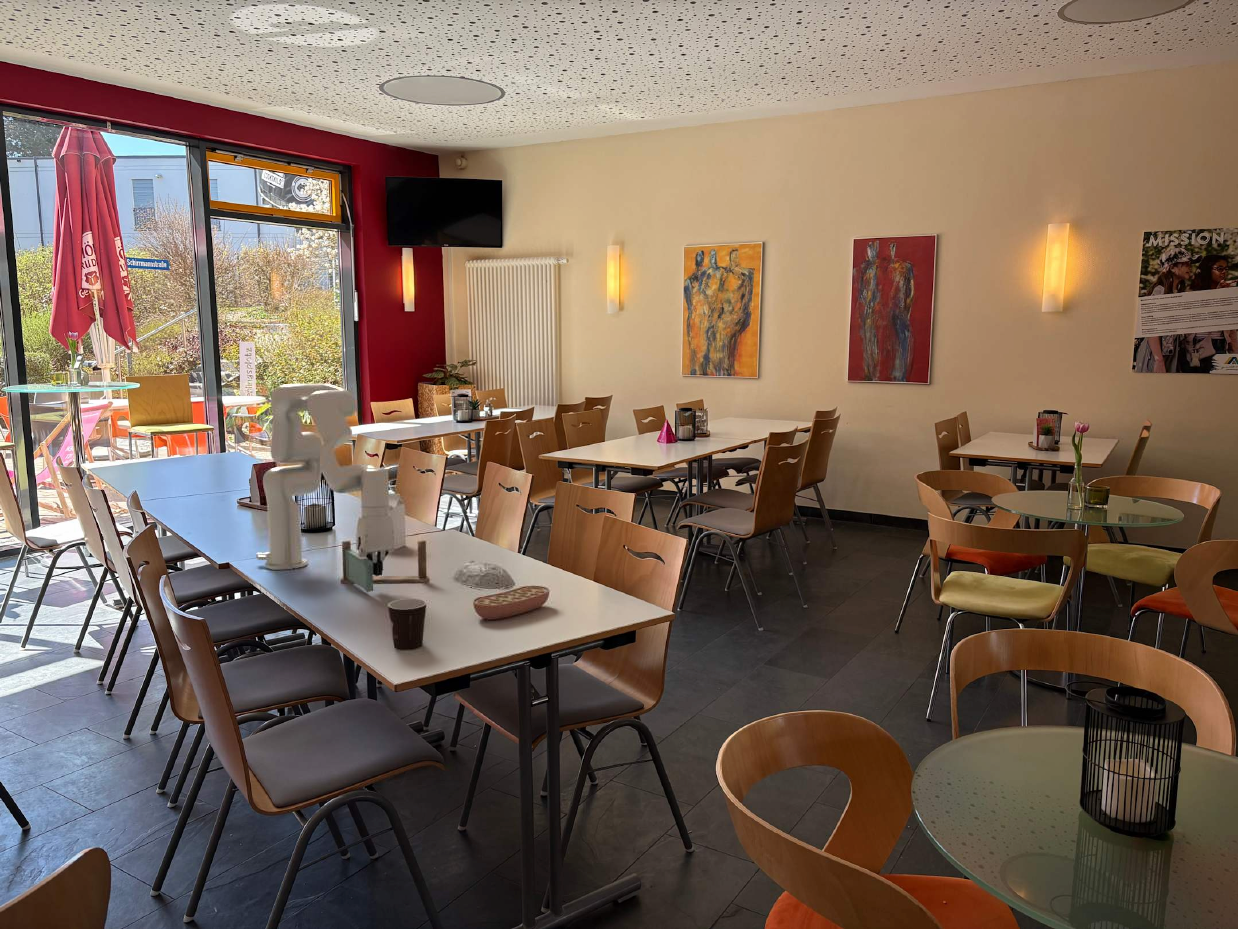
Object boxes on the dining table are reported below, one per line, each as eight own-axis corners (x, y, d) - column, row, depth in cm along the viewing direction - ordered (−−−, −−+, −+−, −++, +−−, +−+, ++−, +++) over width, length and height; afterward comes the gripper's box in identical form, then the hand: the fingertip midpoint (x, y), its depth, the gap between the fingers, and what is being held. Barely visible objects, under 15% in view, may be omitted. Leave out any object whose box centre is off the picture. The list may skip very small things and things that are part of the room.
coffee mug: (396, 639, 205) (395, 598, 204) (432, 640, 205) (431, 599, 203) (378, 655, 194) (377, 612, 193) (416, 657, 193) (415, 613, 192)
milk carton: (396, 549, 298) (395, 495, 296) (377, 548, 300) (376, 494, 297) (405, 545, 305) (404, 492, 303) (387, 544, 307) (385, 491, 304)
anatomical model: (534, 601, 238) (534, 583, 238) (558, 608, 232) (558, 590, 231) (466, 619, 222) (465, 600, 221) (490, 627, 215) (489, 608, 215)
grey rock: (486, 592, 245) (487, 569, 245) (437, 580, 263) (438, 558, 263) (529, 588, 256) (530, 565, 256) (479, 576, 274) (480, 555, 274)
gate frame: (340, 583, 255) (339, 543, 253) (344, 579, 259) (342, 540, 257) (426, 582, 256) (425, 542, 255) (428, 579, 260) (427, 539, 259)
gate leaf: (346, 577, 255) (345, 549, 254) (351, 576, 256) (350, 549, 255) (368, 592, 240) (367, 562, 239) (373, 591, 241) (372, 561, 240)
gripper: (392, 506, 252) (393, 568, 255) (344, 512, 242) (346, 576, 244) (405, 510, 247) (407, 573, 249) (357, 516, 237) (358, 582, 239)
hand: (376, 574), depth 247 cm, fingers closed
